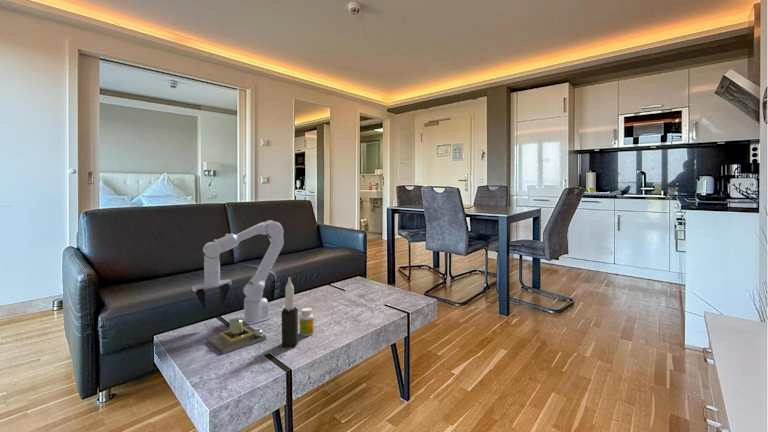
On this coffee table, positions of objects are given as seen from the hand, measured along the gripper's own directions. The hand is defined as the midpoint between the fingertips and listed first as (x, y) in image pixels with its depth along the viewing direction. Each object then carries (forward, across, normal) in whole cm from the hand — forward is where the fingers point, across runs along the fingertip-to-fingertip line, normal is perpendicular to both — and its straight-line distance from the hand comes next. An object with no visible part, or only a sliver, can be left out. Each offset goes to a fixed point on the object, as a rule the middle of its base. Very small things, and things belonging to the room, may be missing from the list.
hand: (213, 305), depth 140 cm
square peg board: (+9, +1, -19) cm, 21 cm away
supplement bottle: (+10, +23, -32) cm, 41 cm away
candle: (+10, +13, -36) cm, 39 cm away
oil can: (+9, +1, -19) cm, 21 cm away
